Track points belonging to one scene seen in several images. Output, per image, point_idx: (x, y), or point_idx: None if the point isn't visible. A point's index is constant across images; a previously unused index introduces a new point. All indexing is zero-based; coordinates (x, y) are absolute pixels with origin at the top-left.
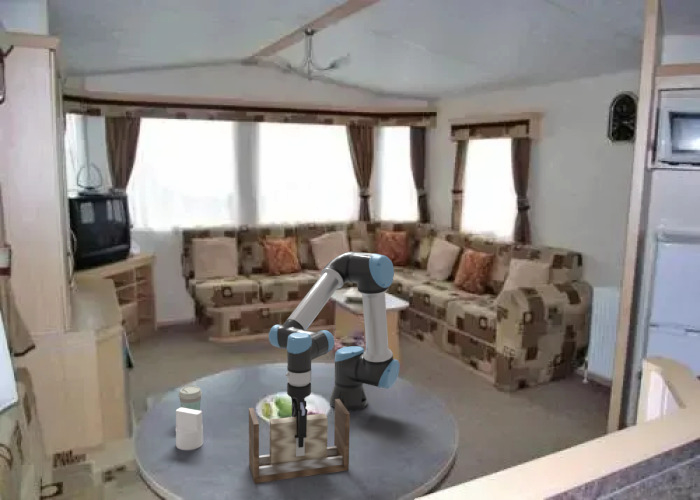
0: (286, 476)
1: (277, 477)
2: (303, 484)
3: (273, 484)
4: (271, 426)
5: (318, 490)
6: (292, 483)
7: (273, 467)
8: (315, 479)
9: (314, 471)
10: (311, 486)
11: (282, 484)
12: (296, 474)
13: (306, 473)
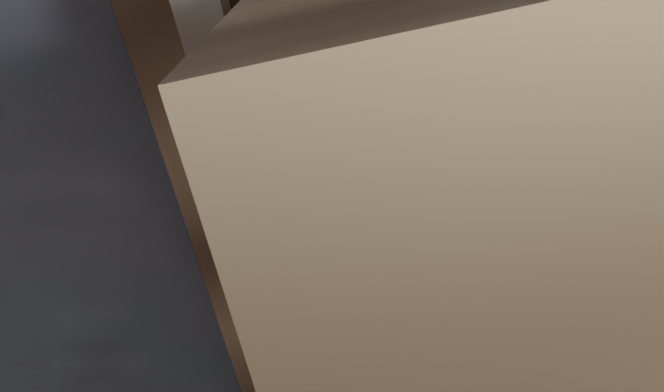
0: (158, 139)
1: (129, 51)
2: (82, 273)
3: (53, 8)
4: (190, 60)
5: (5, 378)
6: (90, 187)
7: (174, 11)
8: (167, 354)
9: (241, 363)
10: (58, 331)
11: (63, 98)
12: (187, 229)
13: (212, 305)
